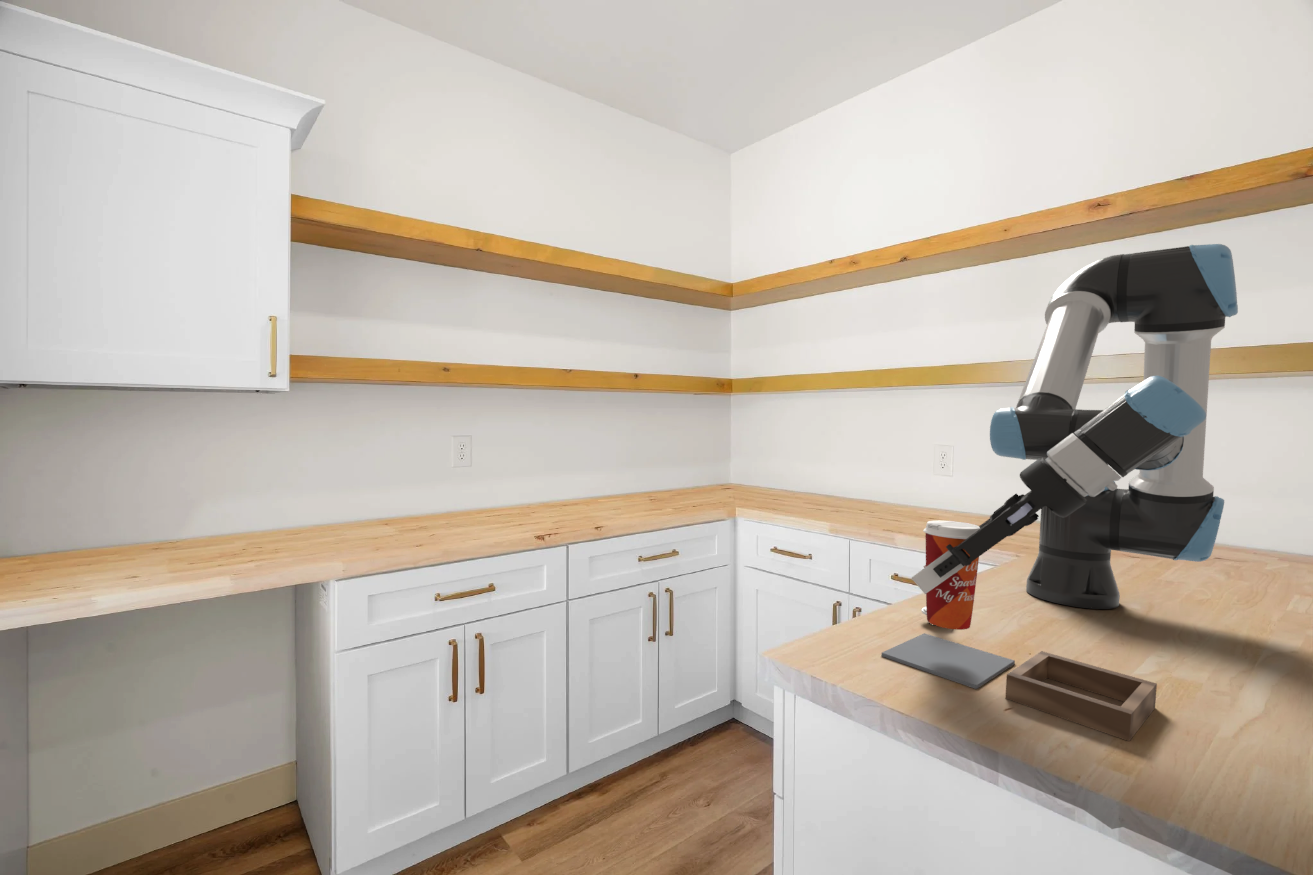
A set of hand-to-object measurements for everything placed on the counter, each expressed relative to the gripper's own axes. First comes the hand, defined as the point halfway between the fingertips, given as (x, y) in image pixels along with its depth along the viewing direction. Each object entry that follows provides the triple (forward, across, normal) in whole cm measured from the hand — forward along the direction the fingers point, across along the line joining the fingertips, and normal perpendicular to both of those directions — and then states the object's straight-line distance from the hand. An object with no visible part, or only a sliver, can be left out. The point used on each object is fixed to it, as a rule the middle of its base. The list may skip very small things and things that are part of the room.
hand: (924, 579), depth 88 cm
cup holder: (-6, -4, -21) cm, 22 cm away
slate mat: (+5, +1, -10) cm, 12 cm away
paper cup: (+2, 0, -6) cm, 7 cm away
